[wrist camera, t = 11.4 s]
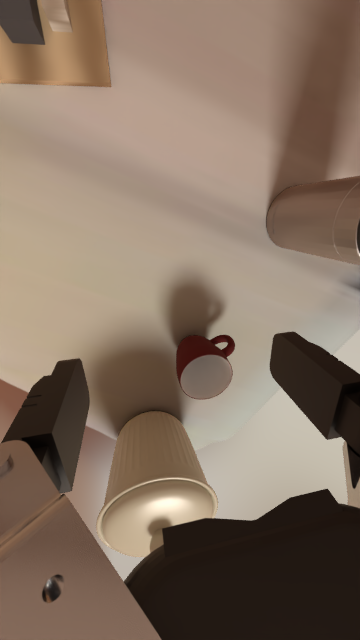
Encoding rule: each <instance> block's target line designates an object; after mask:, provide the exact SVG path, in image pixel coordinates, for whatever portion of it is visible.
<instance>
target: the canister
mask: <svg viewBox="0 0 360 640" xmlns="http://www.w3.org/2000/svg"><path fill="white" fill-rule="evenodd" d="M217 508H218V500H217V496H216V494H215V492H214V490H213V489H212V488H211V487H210V486H209V485H208V484H207V481H206V478H205V476H204V474H203V471H202V469H201V466H200V464H199V461H198V459H197V456H196V454H195V451H194V449H193V446H192V444H191V442H190V439H189V437H188V435H187V433H186V431H185V429H184V427H183V425H182V424H181V422H179V420H178V419H177V418H175V417H174V416H173V415H170V414H169V413H166V412H161V411H150V412H145V413H141V414H140V415H137V416H135V417H134V418H132V419H131V420H130V421H128V422H127V424H125V425H124V427H123V428H122V430H121V431H120V434H119V436H118V438H117V442H116V447H115V451H114V456H113V461H112V465H111V470H110V476H109V481H108V487H107V491H106V497H105V503H104V506H103V508H102V509H101V511H100V513H99V516H98V518H97V524H96V529H97V534H98V536H99V538H100V539H101V541H102V542H103V543H104V544H105V545H107V546H108V547H110V548H111V549H114V550H116V551H118V552H120V553H122V554H125V555H128V556H134V557H146V556H147V555H149V554H150V553H151V552H152V551H154V550H155V549H157V548H158V547H160V546H161V545H163V544H164V543H163V534H162V528H166V527H170V526H174V525H179V524H183V523H187V522H191V521H195V520H199V519H204V518H214V517H215V515H216V512H217Z"/></svg>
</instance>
